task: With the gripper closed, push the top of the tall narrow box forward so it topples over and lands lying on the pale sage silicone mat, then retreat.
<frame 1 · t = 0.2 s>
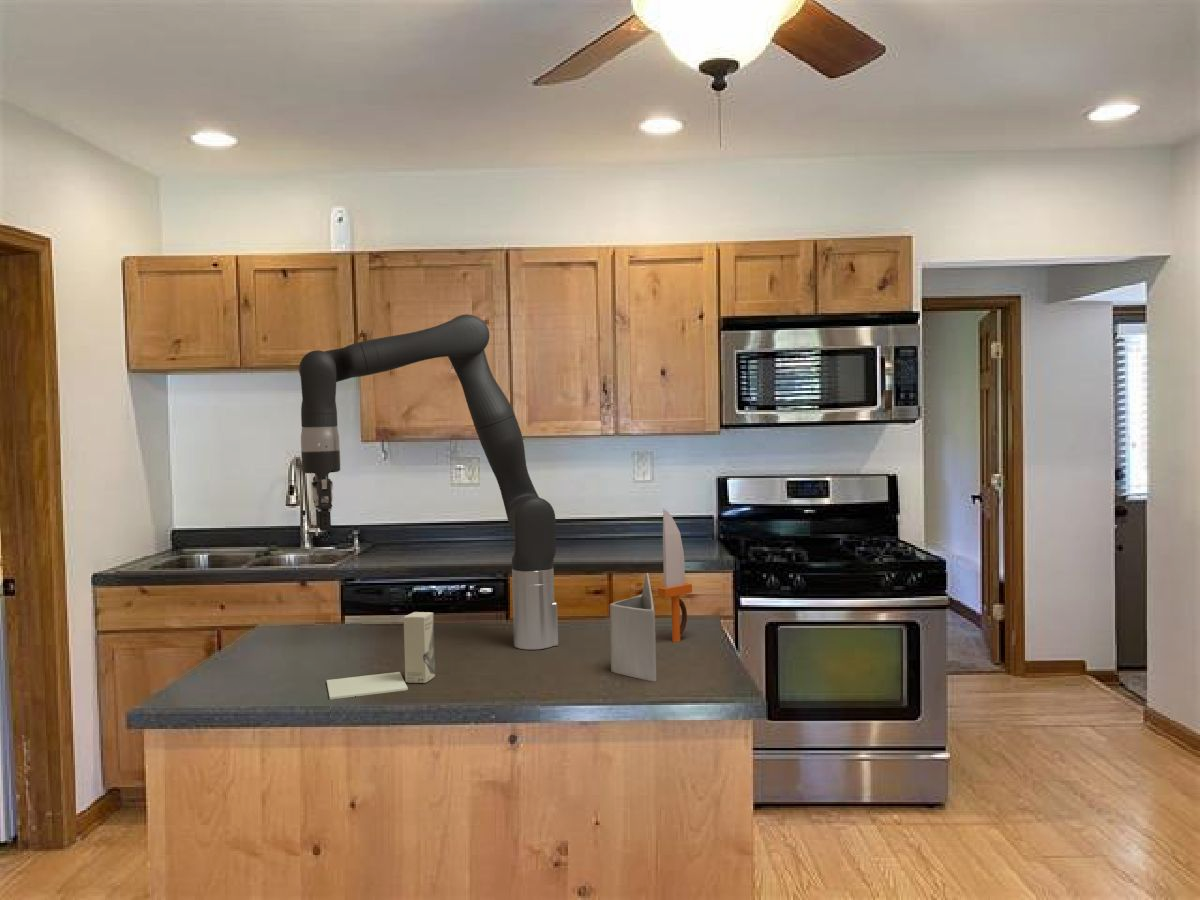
hand: (323, 528, 183), 29 cm above the countertop, fingers open, 8 cm apart
box: (420, 680, 174), on the countertop
sage mat: (366, 686, 170), on the countertop
knife: (676, 642, 200), on the countertop
planter: (631, 671, 177), on the countertop
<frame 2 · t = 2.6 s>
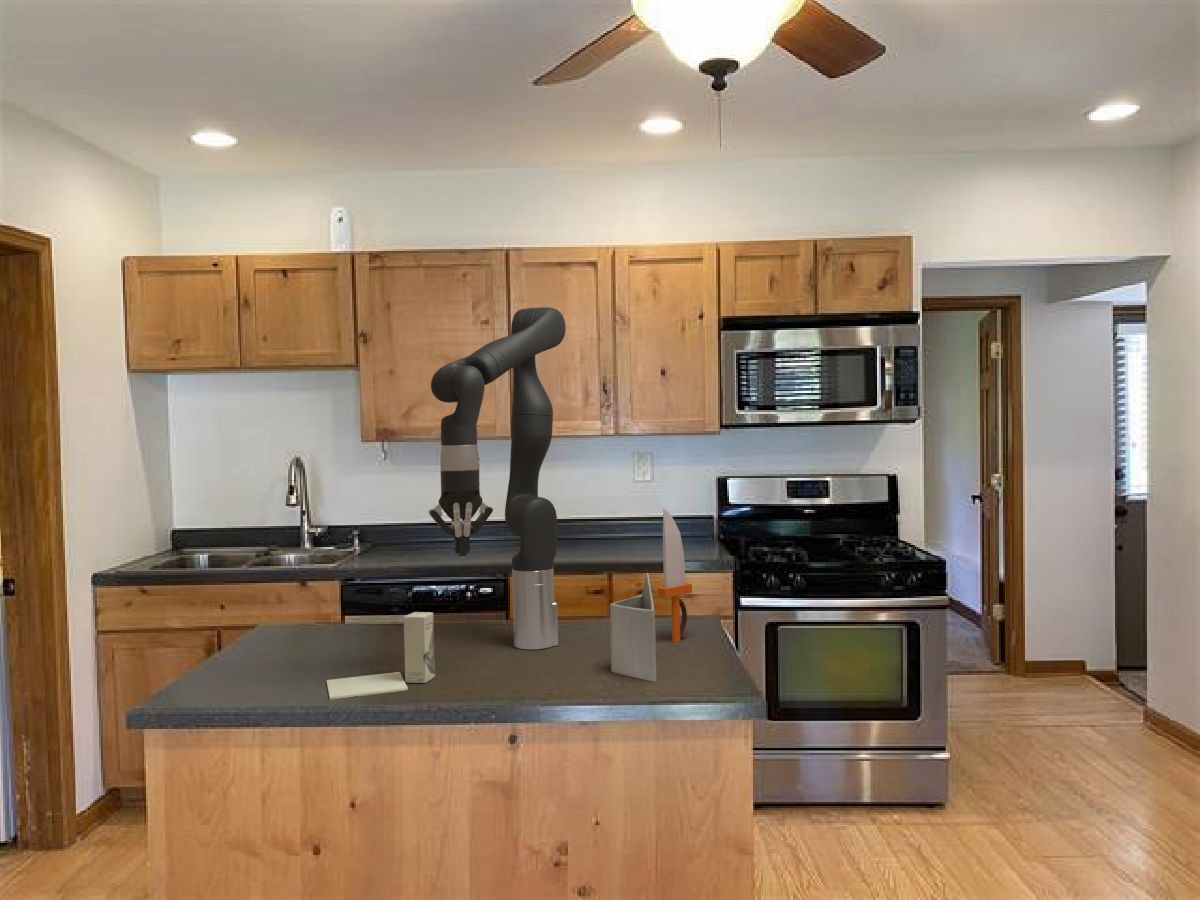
hand: (461, 555, 176), 24 cm above the countertop, fingers closed
nothing on the countertop moved.
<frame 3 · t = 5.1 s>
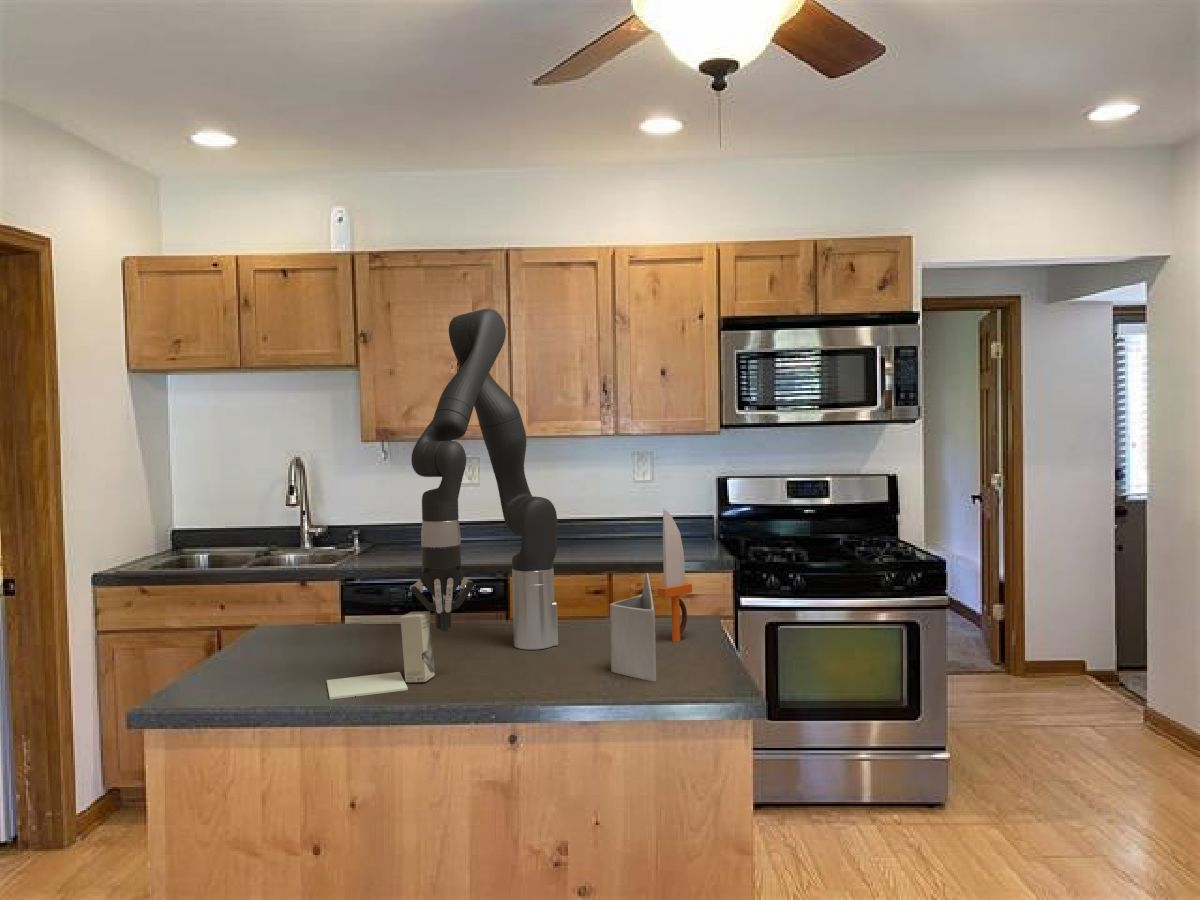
hand: (443, 630, 175), 9 cm above the countertop, fingers closed
box: (420, 680, 174), on the countertop, touching gripper
everything else where it was.
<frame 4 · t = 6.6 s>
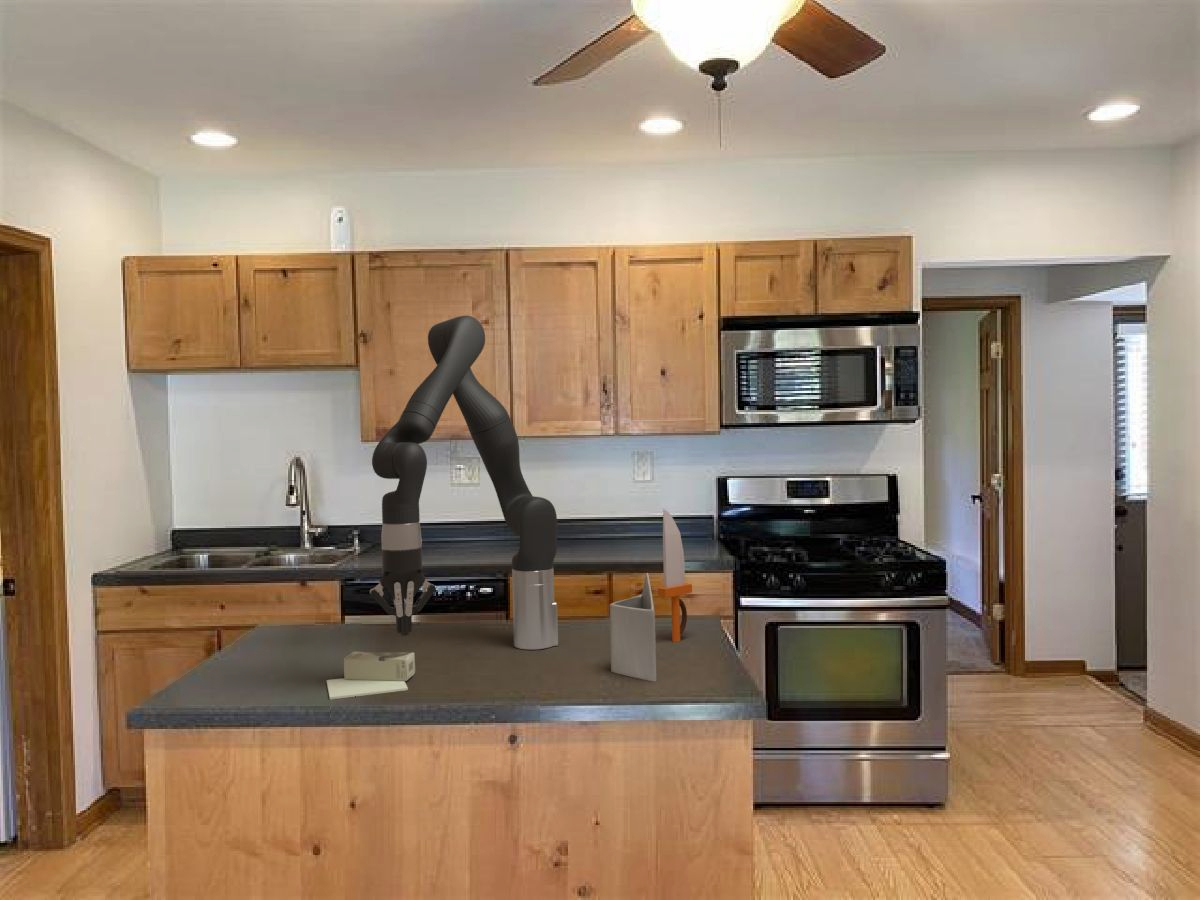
hand: (404, 635, 172), 9 cm above the countertop, fingers closed
box: (412, 666, 174), point 3 cm above the countertop, touching sage mat
everything else where it was.
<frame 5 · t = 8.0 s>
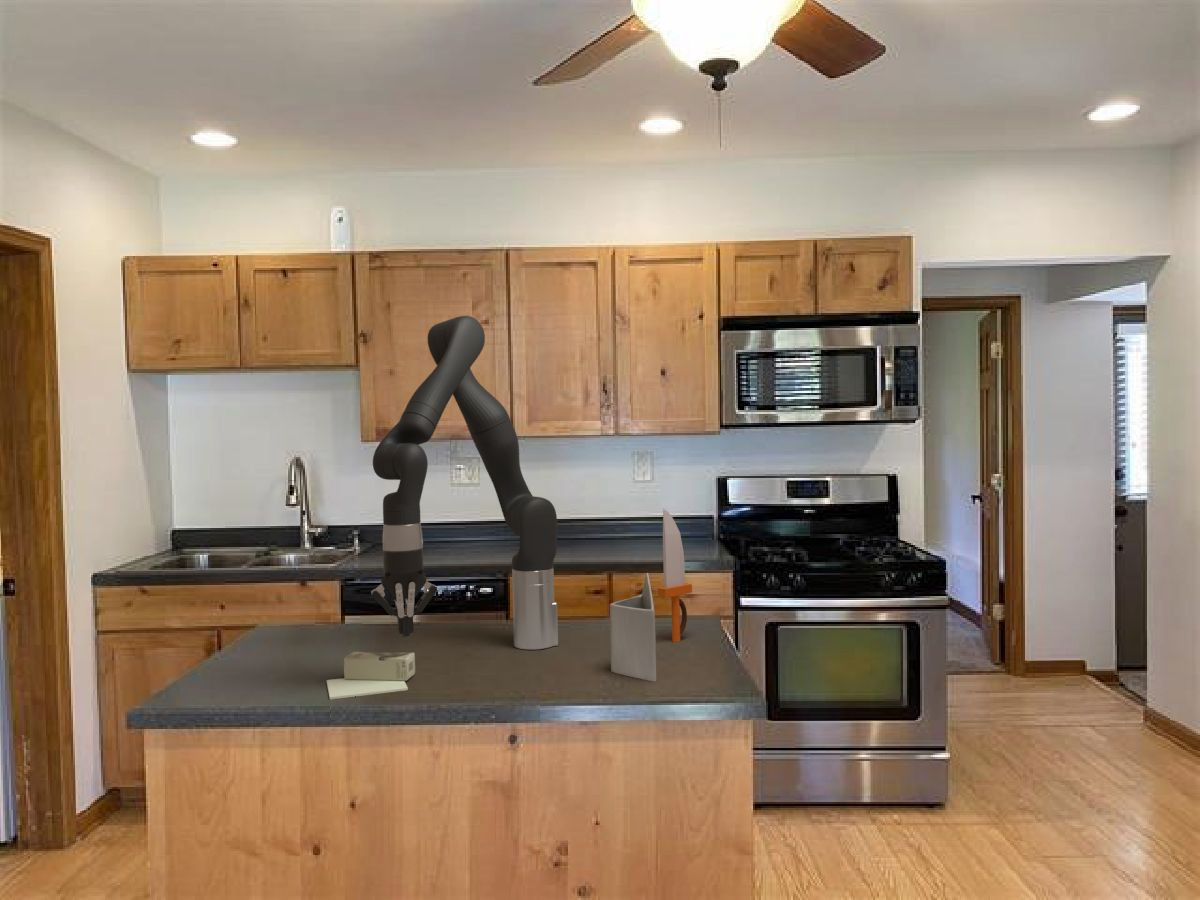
hand: (405, 635, 173), 9 cm above the countertop, fingers closed
nothing on the countertop moved.
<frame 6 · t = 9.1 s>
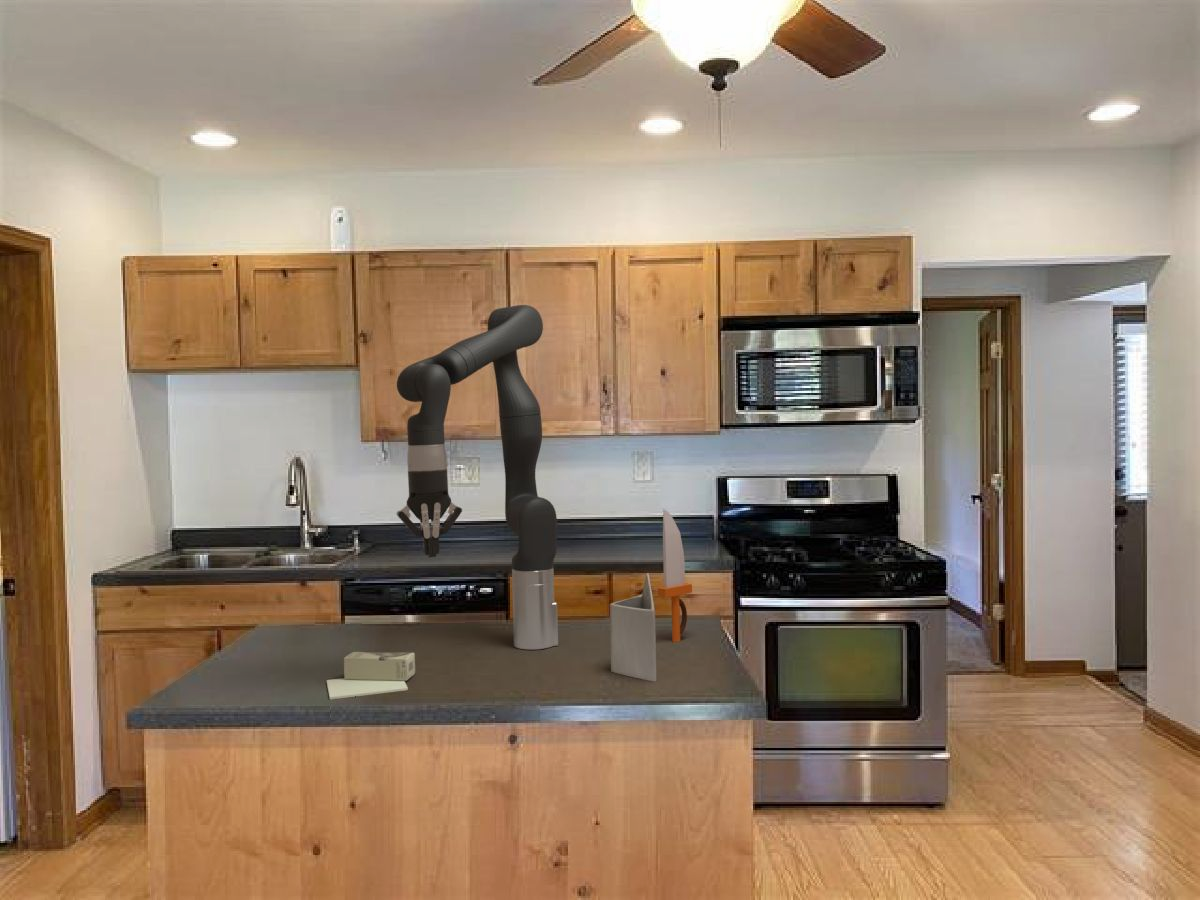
hand: (431, 556, 174), 24 cm above the countertop, fingers closed
nothing on the countertop moved.
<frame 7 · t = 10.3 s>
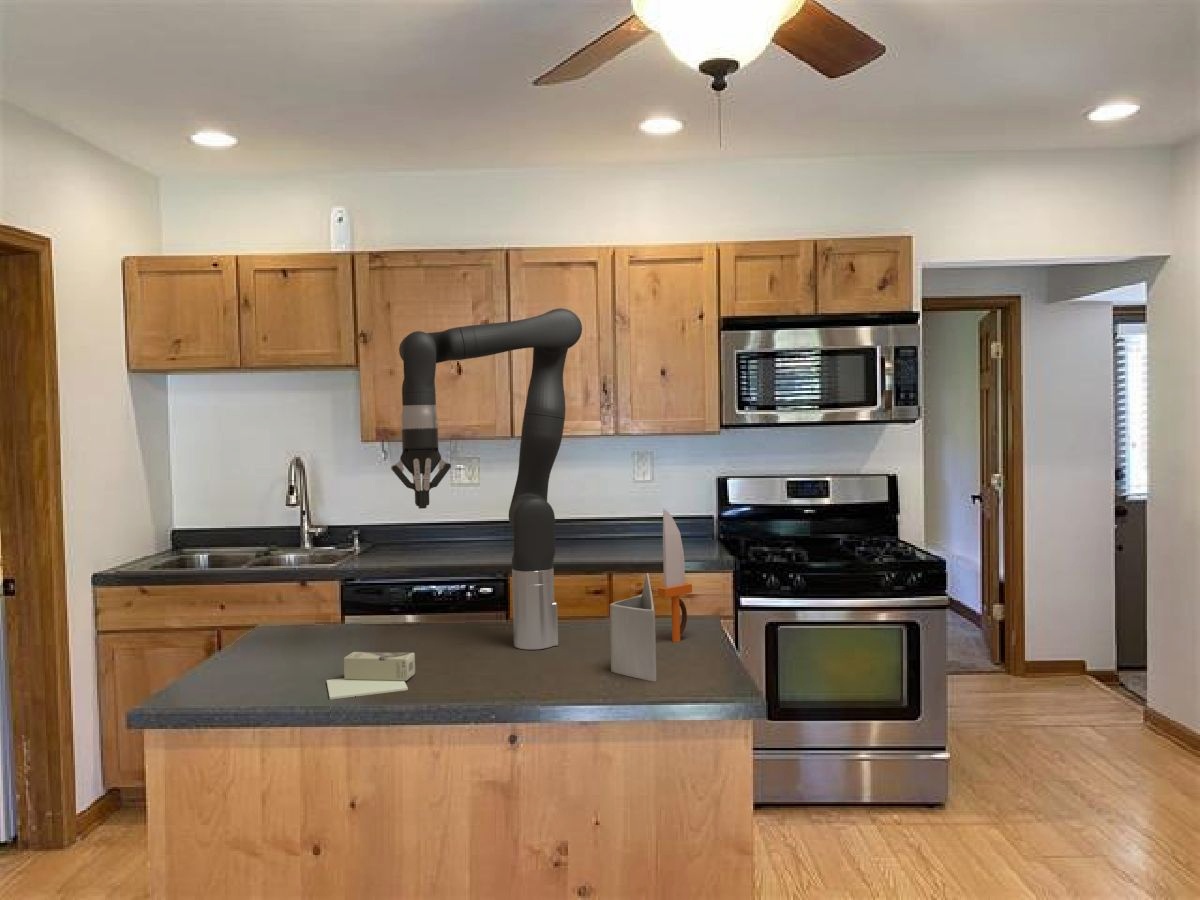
hand: (422, 508, 190), 32 cm above the countertop, fingers closed
nothing on the countertop moved.
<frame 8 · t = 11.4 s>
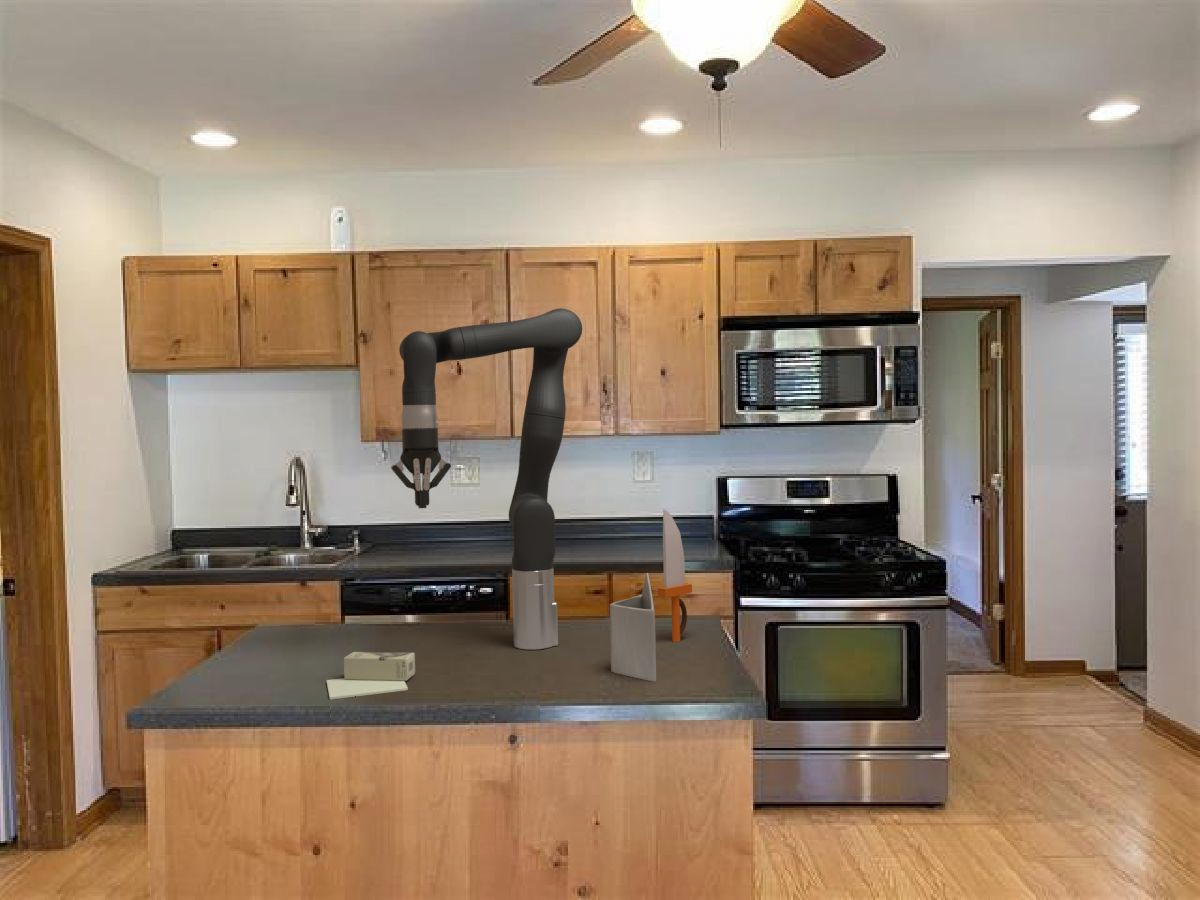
hand: (422, 507, 190), 32 cm above the countertop, fingers closed
nothing on the countertop moved.
at the end: box tilted 89°; box inside the target area (6.1 cm from its centre), point 2.5 cm above the countertop; the gripper is holding nothing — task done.
